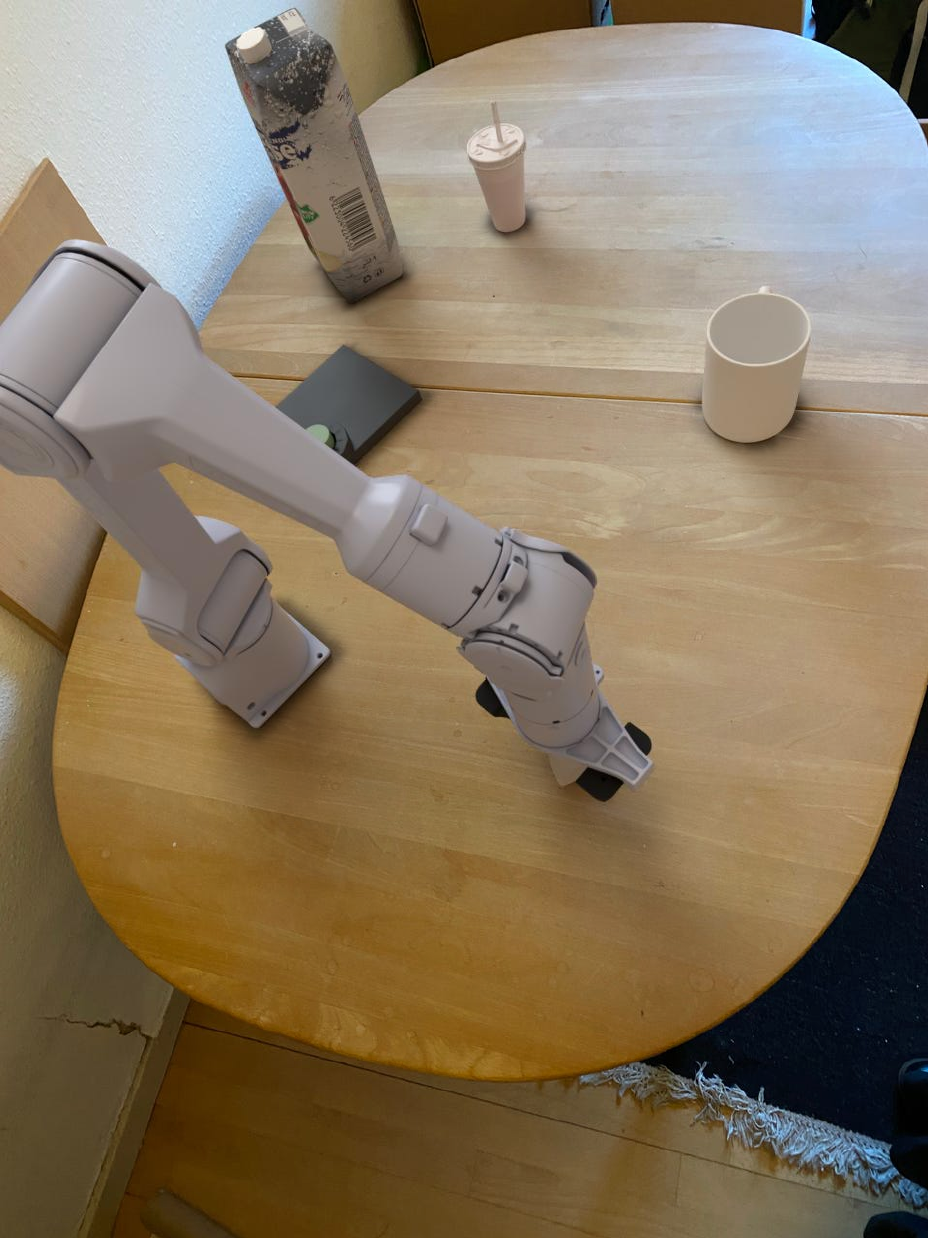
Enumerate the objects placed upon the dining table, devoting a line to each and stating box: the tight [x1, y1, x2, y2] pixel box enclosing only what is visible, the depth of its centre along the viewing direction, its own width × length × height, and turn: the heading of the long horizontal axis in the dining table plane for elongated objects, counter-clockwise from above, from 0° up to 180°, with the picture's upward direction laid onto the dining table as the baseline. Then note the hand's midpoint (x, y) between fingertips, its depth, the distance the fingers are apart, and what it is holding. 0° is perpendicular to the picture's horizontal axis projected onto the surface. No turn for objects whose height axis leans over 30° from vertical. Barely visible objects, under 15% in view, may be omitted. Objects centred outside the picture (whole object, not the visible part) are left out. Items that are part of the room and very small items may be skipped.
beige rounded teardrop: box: [547, 753, 587, 787], centre depth 65 cm, size 4×5×2 cm
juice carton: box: [224, 7, 404, 304], centre depth 86 cm, size 9×10×27 cm
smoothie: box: [466, 99, 527, 233], centre depth 90 cm, size 6×6×14 cm
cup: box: [701, 285, 813, 444], centre depth 74 cm, size 8×12×10 cm
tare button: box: [306, 425, 334, 449], centre depth 83 cm, size 3×3×2 cm
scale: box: [274, 344, 423, 466], centre depth 87 cm, size 14×12×3 cm
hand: (569, 749), depth 64 cm, fingers open, 7 cm apart
